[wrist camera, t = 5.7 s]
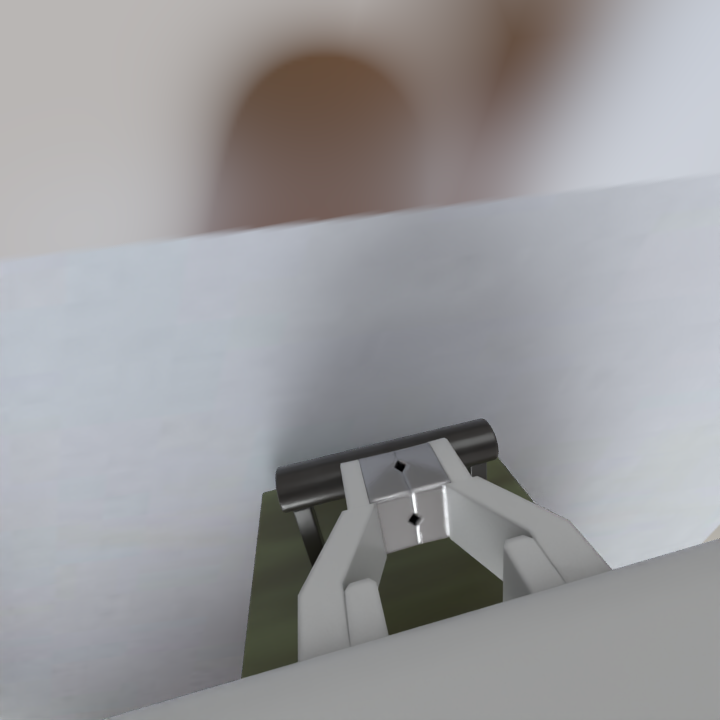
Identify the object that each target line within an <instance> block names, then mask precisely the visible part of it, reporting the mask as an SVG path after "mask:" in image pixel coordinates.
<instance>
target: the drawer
mask: <svg viewBox="0 0 720 720" xmlns="http://www.w3.org/2000/svg"><path fill="white" fill-rule="evenodd" d="M441 438H446V439H447V440H448V441H449V443H450V444H451V446H452V447H453V449H454V450H455V452H456V453H457V455H458V456H459V458H460V460H461V461H462V463H463V464H464V466H465V467H466V469H467V470H468V472H469V473H470V475H471V476H472V477H475V476H479V477H481V478H483V479H485V480H487V481H489V482H491V483H493V484H495V485H497V486H499V487H501V488H503V489H505V490H507V491H509V492H512V493H514V494H516V495H518V496H520V497H522V498H524V499H526V500H528V501H530V502H532V503H534V502H533V501H532V499H531V498H530V497H529V496H528V494H527V493H526V492H525V491H524V489H523V488H522V487H521V486H520V484H519V483H518V482H517V481H516V479H515V478H514V477H513V476H512V474H511V473H510V472H509V471H508V469H507V468H506V467H505V466H504V464H503V463H502V462H501V461H500V459H499V458H498V444H497V440H496V437H495V434H494V432H493V430H492V428H491V426H490V425H489V423H488V422H487V421H486V420H484V419H477V420H473V421H469V422H464V423H460V424H456V425H452V426H448V427H444V428H440V429H435V430H431V431H427V432H423V433H419V434H415V435H411V436H407V437H402V438H398V439H394V440H390V441H386V442H382V443H378V444H373V445H369V446H365V447H361V448H357V449H353V450H349V451H345V452H340V453H336V454H332V455H328V456H324V457H320V458H316V459H311V460H307V461H303V462H299V463H295V464H291V465H287V466H283V467H279V468H277V470H276V490H272V491H268V492H264V493H263V495H262V504H261V512H260V521H259V529H258V538H257V547H256V555H255V564H254V572H253V581H252V590H251V598H250V607H249V615H248V624H247V633H246V641H245V650H244V659H243V667H242V676H241V679H242V678H245V677H249V676H252V675H256V674H259V673H262V672H266V671H269V670H273V669H276V668H280V667H283V666H286V665H290V664H293V663H297V662H298V594H299V592H300V590H301V588H302V586H303V585H304V583H305V581H306V579H307V577H308V575H309V573H310V571H311V569H312V567H313V566H314V564H315V562H316V560H317V558H318V556H319V554H320V552H321V550H322V548H323V547H324V545H325V543H326V541H327V539H328V537H329V535H330V533H331V531H332V530H333V528H334V526H335V524H336V522H337V520H338V518H339V516H340V514H341V512H342V511H345V510H348V509H347V503H346V497H345V491H344V485H343V480H342V474H341V468H340V466H341V463H345V462H349V461H354V460H359V459H361V458H366V457H370V456H374V455H379V454H383V453H388V452H392V451H396V450H400V449H404V448H408V447H412V446H416V445H420V444H424V443H427V442H430V441H434V440H437V439H441ZM534 504H535V503H534ZM378 591H379V595H380V600H381V604H382V608H383V613H384V617H385V621H386V626H387V630H388V634H389V635H392V634H396V633H399V632H402V631H406V630H409V629H413V628H416V627H420V626H423V625H426V624H430V623H433V622H437V621H440V620H444V619H447V618H450V617H454V616H457V615H461V614H464V613H467V612H471V611H474V610H478V609H481V608H485V607H488V606H491V605H495V604H498V603H502V602H503V581H502V580H501V579H500V578H498V577H497V576H496V575H495V574H493V573H492V572H491V571H490V570H488V569H487V568H486V567H485V566H483V565H482V564H481V563H480V562H479V561H477V560H476V559H475V558H474V557H472V556H471V555H470V554H469V553H467V552H466V551H465V550H464V549H462V548H461V547H460V546H459V545H457V544H456V543H455V542H454V541H452V540H451V539H450V537H448V538H444V539H440V540H436V541H432V542H427V543H423V544H419V545H416V546H412V547H409V548H406V549H402V550H399V551H396V552H393V553H389V554H387V558H386V562H385V565H384V569H383V573H382V576H381V580H380V583H379V587H378Z"/></svg>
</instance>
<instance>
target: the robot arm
mask: <svg viewBox="0 0 720 720" xmlns="http://www.w3.org/2000/svg"><path fill="white" fill-rule="evenodd" d="M340 468H341V474H342V480H343V485H344V491H345V497H346V503H347V509H348V510H345V511H342V512H341V514H340V516H339V518H338V520H337V522H336V524H335V526H334V528H333V530H332V531H331V533H330V535H329V537H328V539H327V541H326V543H325V545H324V547H323V548H322V550H321V552H320V554H319V556H318V558H317V560H316V562H315V564H314V566H313V567H312V569H311V571H310V573H309V575H308V577H307V579H306V581H305V583H304V585H303V586H302V588H301V590H300V592H299V594H298V662H297V663H293V664H290V665H286V666H283V667H280V668H276V669H273V670H269V671H266V672H262V673H259V674H256V675H252V676H249V677H245V678H242V679H239V680H235V681H232V682H228V683H225V684H221V685H218V686H215V687H211V688H208V689H204V690H201V691H198V692H194V693H191V694H187V695H184V696H180V697H177V698H174V699H170V700H167V701H163V702H160V703H157V704H153V705H150V706H146V707H143V708H139V709H136V710H133V711H129V712H126V713H122V714H119V715H116V716H112V717H109V718H105V719H102V720H720V539H716V540H713V541H710V542H706V543H702V544H699V545H696V546H692V547H689V548H685V549H682V550H679V551H675V552H672V553H668V554H665V555H662V556H658V557H655V558H651V559H648V560H644V561H641V562H638V563H634V564H631V565H627V566H624V567H621V568H617V569H614V570H612V569H611V568H610V567H609V565H608V564H607V563H606V562H605V561H604V560H603V559H602V557H601V556H600V555H599V554H598V553H597V552H596V550H595V549H594V548H593V547H592V546H591V545H590V543H589V542H588V541H587V540H586V539H585V538H584V537H583V535H582V534H581V533H580V532H579V531H578V530H577V528H576V527H575V526H574V525H573V524H572V523H571V522H570V521H569V520H567V519H565V518H563V517H561V516H559V515H557V514H555V513H553V512H551V511H549V510H547V509H545V508H542V507H540V506H538V505H536V504H534V503H532V502H530V501H528V500H526V499H524V498H522V497H520V496H518V495H516V494H514V493H512V492H509V491H507V490H505V489H503V488H501V487H499V486H497V485H495V484H493V483H491V482H489V481H487V480H485V479H483V478H481V477H479V476H475V477H472V476H471V475H470V473H469V472H468V470H467V469H466V467H465V466H464V464H463V463H462V461H461V460H460V458H459V456H458V455H457V453H456V452H455V450H454V449H453V447H452V446H451V444H450V443H449V441H448V440H447V439H446V438H441V439H437V440H434V441H430V442H427V443H424V444H420V445H416V446H412V447H408V448H404V449H400V450H396V451H392V452H388V453H383V454H379V455H374V456H370V457H366V458H361V459H359V460H354V461H349V462H345V463H341V466H340ZM448 537H450V539H451V540H452V541H454V542H455V543H456V544H457V545H459V546H460V547H461V548H462V549H464V550H465V551H466V552H467V553H469V554H470V555H471V556H472V557H474V558H475V559H476V560H477V561H479V562H480V563H481V564H482V565H483V566H485V567H486V568H487V569H488V570H490V571H491V572H492V573H493V574H495V575H496V576H497V577H498V578H500V579H501V580H502V581H503V602H502V603H498V604H495V605H491V606H488V607H485V608H481V609H478V610H474V611H471V612H467V613H464V614H461V615H457V616H454V617H450V618H447V619H444V620H440V621H437V622H433V623H430V624H426V625H423V626H420V627H416V628H413V629H409V630H406V631H402V632H399V633H396V634H392V635H389V634H388V630H387V626H386V621H385V617H384V613H383V608H382V604H381V600H380V595H379V591H378V587H379V583H380V580H381V576H382V573H383V569H384V565H385V562H386V558H387V554H389V553H393V552H396V551H399V550H402V549H406V548H409V547H412V546H416V545H419V544H423V543H427V542H432V541H436V540H440V539H444V538H448Z"/></svg>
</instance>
